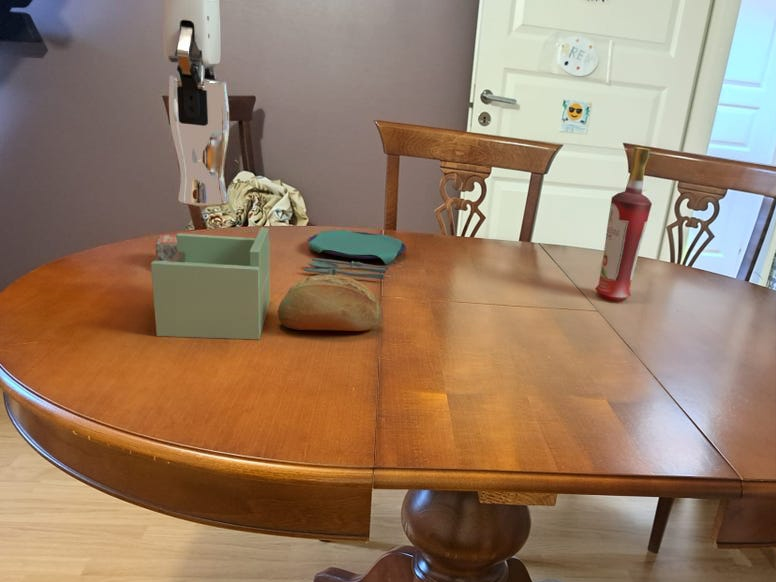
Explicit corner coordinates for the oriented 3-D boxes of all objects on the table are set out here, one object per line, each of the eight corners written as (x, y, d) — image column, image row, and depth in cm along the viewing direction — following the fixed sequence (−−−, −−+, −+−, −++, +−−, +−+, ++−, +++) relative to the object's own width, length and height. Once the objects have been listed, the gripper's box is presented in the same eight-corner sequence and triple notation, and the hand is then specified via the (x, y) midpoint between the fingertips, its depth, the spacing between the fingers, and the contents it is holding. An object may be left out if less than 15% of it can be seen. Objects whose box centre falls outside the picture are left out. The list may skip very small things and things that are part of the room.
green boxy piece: (156, 336, 88) (149, 247, 83) (182, 297, 102) (177, 219, 97) (259, 339, 91) (258, 254, 86) (270, 301, 105) (269, 226, 100)
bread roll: (384, 343, 95) (388, 289, 91) (275, 340, 91) (275, 284, 88) (379, 319, 103) (382, 269, 100) (279, 315, 100) (279, 264, 96)
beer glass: (235, 199, 91) (232, 81, 85) (226, 209, 85) (222, 83, 79) (181, 194, 89) (174, 74, 84) (168, 204, 83) (160, 75, 77)
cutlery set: (410, 246, 147) (411, 236, 146) (393, 285, 119) (394, 273, 118) (320, 235, 146) (320, 225, 145) (282, 273, 119) (282, 260, 118)
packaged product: (152, 244, 109) (156, 229, 117) (154, 272, 111) (158, 256, 119) (266, 246, 115) (262, 232, 124) (267, 273, 117) (263, 257, 126)
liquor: (586, 291, 130) (614, 144, 119) (618, 292, 133) (649, 147, 122) (603, 304, 124) (635, 149, 113) (637, 304, 127) (671, 153, 116)
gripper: (174, -37, 83) (182, 112, 90) (136, -59, 68) (149, 124, 75) (237, -28, 85) (240, 119, 92) (214, -47, 69) (220, 131, 76)
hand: (199, 120), depth 83 cm, fingers closed on beer glass, 7 cm apart
